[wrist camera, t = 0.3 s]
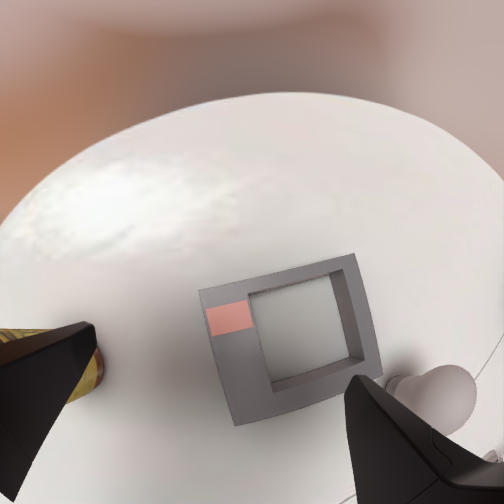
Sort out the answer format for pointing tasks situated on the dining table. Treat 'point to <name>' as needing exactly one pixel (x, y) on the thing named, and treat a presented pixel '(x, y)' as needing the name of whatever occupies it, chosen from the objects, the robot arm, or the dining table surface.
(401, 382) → the lightbulb
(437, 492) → the robot arm
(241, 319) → the socket
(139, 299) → the dining table surface
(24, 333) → the sauce bottle
